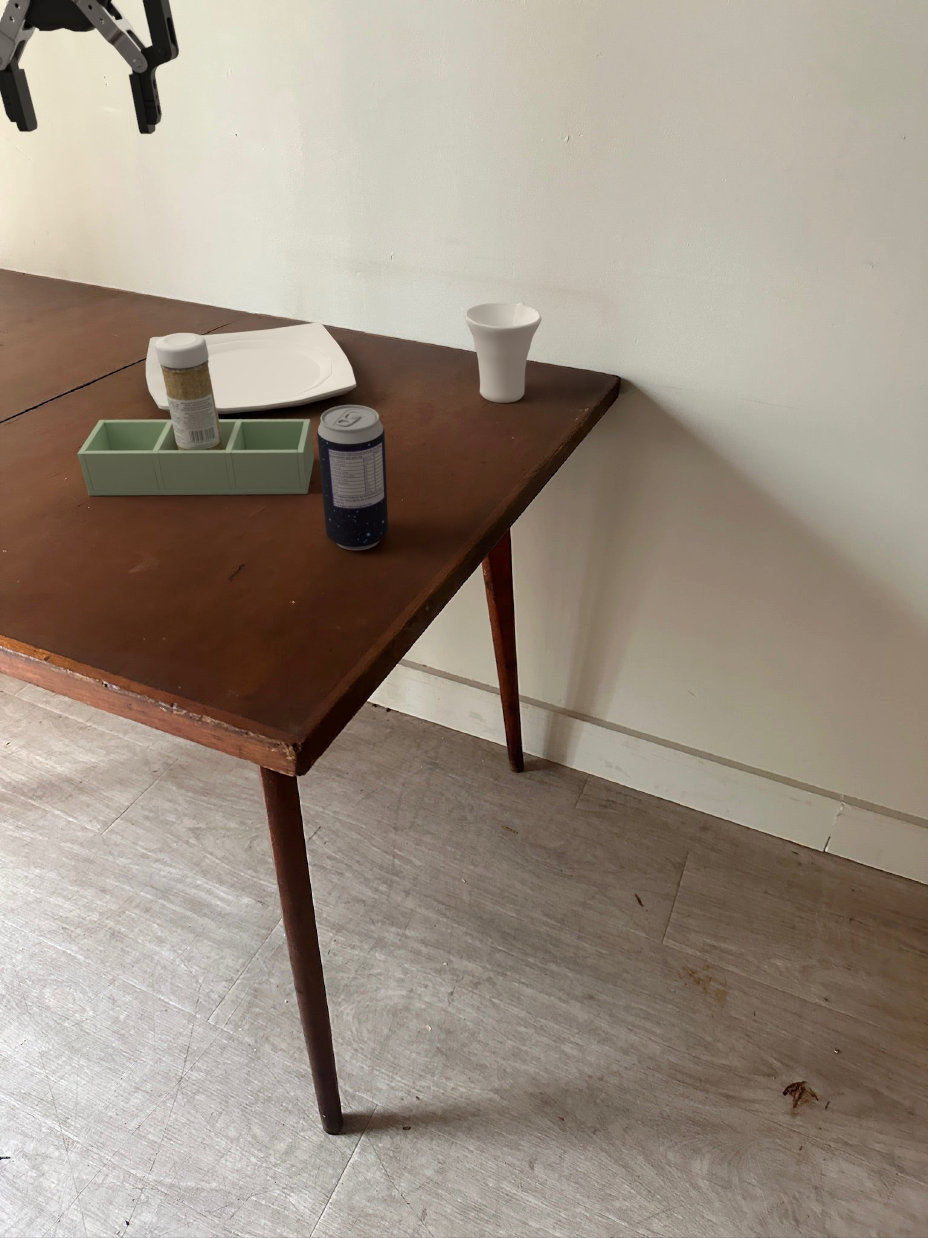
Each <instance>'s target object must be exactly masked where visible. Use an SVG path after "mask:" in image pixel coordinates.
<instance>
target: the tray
mask: <svg viewBox="0 0 928 1238" xmlns="http://www.w3.org/2000/svg"><path fill="white" fill-rule="evenodd" d="M218 419H219V418H218ZM219 425H220V431H221V441H222V447H223V450H178V446H177V443H176V439H175V434H174V429H173V424H172V419H99V420H98V422H97V423H96V425H94V428H93V429H92V431H91V432H90V434H89V435H88V437H87V439H86V440H85V442H84V443H83V444H82V446H81V447H80V449H79V451H78V452H77V456H78V460H79V464H80V467H81V472H82V475H83V478H84V482H85V484H86V489H87V493H88V496H89V497H91V496H92V497H94V496H95V497H97V496H98V497H99V496H100V497H101V496H103V497H104V496H105V497H106V496H108V497H109V496H194V495H195V496H215V495H216V496H219V495H220V496H223V495H226V496H227V495H235V496H236V495H307V494H308V493H309V487H310V482H311V476H312V471H313V466H314V461H315V459H314V458H315V456H314V448H313V447H314V446H313V444H314V443H313V436H312V425H311V419H310V418H285V419H284V418H271V419H270V418H262V419H261V418H258V419H257V418H256V419H253V418H252V419H250V418H246V419H242V418H239V419H235V418H234V419H231V418H229V419H225V418H224V419H221V418H220V419H219Z"/></svg>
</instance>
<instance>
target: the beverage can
mask: <svg viewBox="0 0 928 1238" xmlns="http://www.w3.org/2000/svg"><path fill="white" fill-rule="evenodd" d="M385 433H386V432H385V428H384V426H383V424H382V422H381V421H380V415H379V413H378V412H377V410H375V409H373V408H371V407H369V406H365V405H360V404H344V405H337V406H334V407H330V408H329V409H327V410H325V411H324V412H322V413H321V415H320V424H319V426H318V427H317V430H316V437H317V438H316V439H317V447H318V459H319V460H318V461H319V469H320V483H321V491H322V503H323V513H324V514H323V515H324V525H325V527H324V528H325V533H326V536H327V537H328V539H329V540H330V541H332V542H333V543H335V544H336V545H337V546H338V547H340V548H341V549H344V550H349V551H364V550H368V549H371V548H373V547H375V546H377V545H378V543H380V541H381V540H383V539H384V538H385V537H386V535H387V534H388V533H389V514H388V513H389V511H388V488H387V486H388V485H387V461H386V436H385Z"/></svg>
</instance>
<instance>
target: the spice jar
mask: <svg viewBox="0 0 928 1238" xmlns="http://www.w3.org/2000/svg"><path fill="white" fill-rule="evenodd" d="M200 335H201V334H197V333H193V332H177V333H171V334H167V335H163V336H161V337H162V338H160V339H158V340H157V341H156V344H155V348H156V353H157V358H158V362H159V363H160V366H161V368H162V373H163V376H164V383H165V387H166V395H167V400H168V404H169V409H170V412H169V415H170V420H172V424H173V429H174V434H175V439H176V443H177V446H178V450H223V447H222V441H221V431H220V425H219V414H218V413H217V408H216V406H215V400H214V394H213V389H212V383H211V379H210V373H209V367H208V362H209V360H208V358H209V355H208V349H207V345H206V340H205V339H204V338H203V337H202V336H200Z"/></svg>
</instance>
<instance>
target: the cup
mask: <svg viewBox="0 0 928 1238" xmlns="http://www.w3.org/2000/svg"><path fill="white" fill-rule="evenodd" d="M464 318H465V322H466V324H467V326H468V329H469V331H470V334H471V335H472V339H473V344H474V349H475V352H476V356H477V362H478V372H479V373H478V374H479V394H480V396H482V398H483V399H485V400H487V401H490V402H494V403H499V404H500V403H501V404H508V403H515V402H517V401H519V400H521V399H522V398H524V395H525V391H526V390H525V388H526V386H525V383H526V381H525V380H526V368H527V367H526V366H527V361H528V356H529V353H530V349H531V346H532V342H533V338H534V336H535V334H536V332H537V330H538V328H539V326H540V324H541V322H542V315H541V313H540V312H539V311H537V309H535V308H533V307H530V306H528V305H526V304H525V302H523V301H520V302H518V303H513V302H488V303H480V304H477V305H474V306H471V307H469V308H468V309H467V310H466V312H465V315H464Z"/></svg>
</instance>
